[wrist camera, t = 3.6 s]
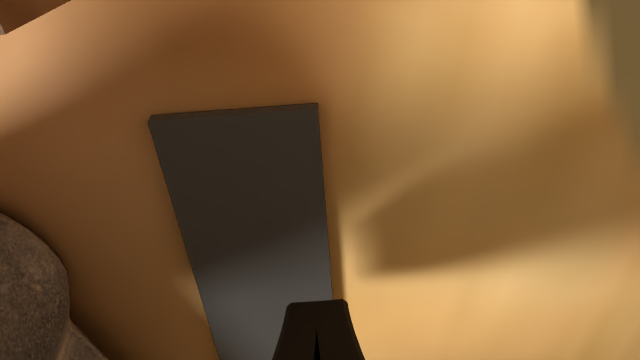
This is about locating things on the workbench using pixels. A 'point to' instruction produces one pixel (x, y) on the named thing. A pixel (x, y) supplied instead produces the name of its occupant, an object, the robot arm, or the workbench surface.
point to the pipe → (36, 301)
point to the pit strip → (248, 216)
